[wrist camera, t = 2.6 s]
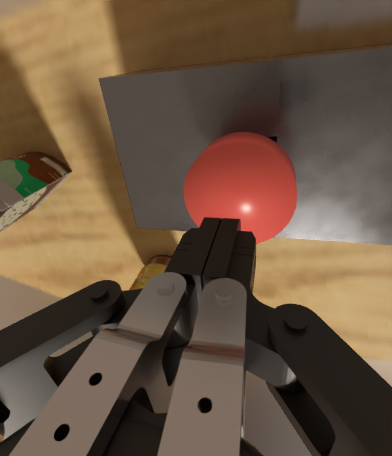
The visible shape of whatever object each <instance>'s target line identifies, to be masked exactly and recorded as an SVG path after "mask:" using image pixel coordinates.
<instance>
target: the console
mask: <svg viewBox="0 0 392 456" xmlns="http://www.w3.org/2000/svg"><path fill="white" fill-rule="evenodd" d="M99 82H100V86H101V90H102V94H103V97H104V101H105V105H106V109H107V113H108V117H109V121H110V125H111V128H112V132H113V136H114V140H115V144H116V148H117V152H118V156H119V160H120V163H121V167H122V171H123V175H124V179H125V183H126V187H127V191H128V194H129V198H130V202H131V206H132V210H133V214H134V218H135V222H136V226H137V228H147V229H162V230H177V231H188V230H190V229H191V228H199V227H198V226H197V224H196V223H195V222H194V221H193V219H192V218H191V216H190V214H189V212H188V210H187V208H186V205H185V200H184V183H185V178H186V176H187V173H188V171H189V169H190V167H191V166H192V165H193V163H194V162H195V161H196V159H197V158H198V157H199V155H200V154H201V153H202V152H203V150H204V149H205V148H206V147H207V146H208V145H209V144H210V143H212V142H213V141H214V140H216V139H218V138H220V137H222V136H224V135H227V134H231V133H237V132H251V133H257V134H260V135H263V136H265V137H274V136H277V144H278V145H280V146H281V147H282V148H283V149H284V150H285V152H286V153H287V154H288V156H289V157H290V159H291V161H292V163H293V165H294V169H295V174H296V184H297V204H296V209H295V212H294V215H293V217H292V218H291V220H290V222H289V223H288V225H287V226H286V227H285V228H284V229H283V230H282V231H281V232H280V233H278V234H277V235H276V236H274V237H280V238H295V239H309V240H324V241H339V242H354V243H368V244H383V245H392V44H383V45H374V46H365V47H356V48H346V49H337V50H328V51H319V52H310V53H300V54H291V55H282V56H273V57H264V58H254V59H245V60H236V61H227V62H217V63H208V64H199V65H190V66H181V67H171V68H162V69H153V70H144V71H136V72H130V73H125V74H120V75H115V76H109V77H104V78H99Z"/></svg>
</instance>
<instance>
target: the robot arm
mask: <svg viewBox="0 0 392 456" xmlns="http://www.w3.org/2000/svg"><path fill="white" fill-rule="evenodd" d="M255 268H256V238H255V236H254V234H253V233H252V231H241V220H240V219H234V218H212V217H204V218H203V221H202V223H201V225H200V227H199V228H191V229H190V230H188V231H187V232H186V233H185V234H183V236H182V238H181V240H180V242H179V244H178V246H177V248H176V251H175V252H174V254H173V256H172V258H171V259H170V261H169V263H168V265H167V267H166V269H165V271H164V273H161V274H158V275H156V276H154V277H152V278H151V279H150V280H149V281H148V282H147V283H146V285H145V286H144V288H141V289H135V290H127V291H122V290H121V287H120V285H119V284H118V283H117V282H115V281H111V280H103V281H99V282H96V283H94V284H91V285H89V286H88V287H86V288H84V289H82V290H80V291H78V292H76V293H74V294H72V295H70V296H68V297H66V298H64V299H62V300H60V301H58V302H56V303H54V304H52V305H50V306H48V307H46V308H44V309H42V310H40V311H38V312H36V313H34V314H32V315H30V316H28V317H26V318H24V319H22V320H20V321H18V322H16V323H14V324H12V325H10V326H8V327H6V328H4V329H2V330H0V456H263V455H262V454H261V453H260V452H259V451H258V450H257V449H256V448H255V447H254V446H253V445H251V444H250V443H249V442H248V441H246V440H245V439H244V421H245V419H244V418H245V384H246V370H247V371H249V372H251V373H252V374H254V375H256V376H258V377H260V378H261V379H263V380H265V381H266V384H267V386H268V388H269V390H270V392H271V393H272V394H273V396H274V398H275V399H276V401H277V402H278V404H279V405H280V407H281V409H282V410H283V412H284V413H285V415H286V416H287V418H288V419H289V421H290V422H291V424H292V426H293V427H294V429H295V430H296V432H297V433H298V435H299V436H300V438H301V439H302V441H303V443H304V444H305V446H306V447H307V449H308V450H309V452H310V453H311V455H312V456H392V387H391V386H390V385H389V384H388V383H387V382H386V381H385V380H384V379H383V378H382V377H381V376H380V375H379V374H378V373H377V372H376V371H375V370H374V369H373V368H372V367H371V366H369V365H368V364H367V363H366V362H365V361H364V360H363V359H362V358H361V357H360V356H359V355H358V354H357V353H356V352H355V351H354V350H353V349H352V348H351V347H350V346H349V345H348V344H347V343H346V342H345V341H344V340H343V339H342V338H340V337H339V336H338V335H337V334H336V333H335V332H334V331H333V330H332V329H331V328H330V327H329V326H328V325H327V324H326V323H325V322H324V321H323V320H322V319H321V318H320V317H319V316H318V315H317V314H315V313H314V312H313V311H312V310H310V309H309V308H306V307H304V306H301V305H297V304H284V305H281V306H278V307H276V308H275V309H274V308H272V307H269V306H267V305H265V304H263V303H261V302H260V301H258V300H257V299H256V298H255V297H254V296H253V294H252V293H253V285H254V277H255ZM89 331H91V333H92V335H93V336H92V337H91V338H89V339H87V340H86V341H84V342H82V343H81V344H79V345H77V346H76V347H74V348H72V349H71V350H69V351H67V352H66V353H64V354H62V355H60V356H58V357H50V356H49V355H51V354H52V353H54V352H55V351H57V350H59V349H61V348H62V347H64V346H66V345H67V344H69V343H71V342H72V341H74V340H76V339H78V338H79V337H81V336H83V335H85V334H86V333H88V332H89Z"/></svg>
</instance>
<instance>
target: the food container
mask: <svg viewBox="0 0 392 456" xmlns="http://www.w3.org/2000/svg"><path fill="white" fill-rule="evenodd" d="M71 172H72V171H71V170H70V169H69V168H68V167H67V166H66V165H65V164H63V163H62V162H60V161H59V160H57V159H56V158H54V157H53V156H50V155H47V154H44V153H41V152H28V153H25V154H22V155H19V156H16V157H12V158H9V159H6V160H3V161H0V232H1V231H2V230H4V229H5V228H7V227H8V226H10V225H11V224H13V223H14V222H15V221H17V220H18V219H20V218H21V217H23V216H24V215H26V214H27V213H29V212H30V211H32V210H33V209H35V208H36V207H37V206H38V205H39V204H40V203H41V202H42V201H43V200H44V199H45V198H46V197H47V196H48V195H49V194H50V193H51V192H52V191H53V190H54V189H55V188H56V187H57V186H58V185H59V184H60V183H61V182H62V181H63V180H64V179H65V178H66V177H67V176H68V175H69V174H70V173H71Z"/></svg>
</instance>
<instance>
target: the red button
mask: <svg viewBox="0 0 392 456" xmlns="http://www.w3.org/2000/svg"><path fill="white" fill-rule="evenodd" d="M184 200H185V205H186V208H187V210H188V212H189V214H190V216H191V218H192V219H193V221H194V222H195V223H196V224H197V226H198V227H200V225H201V223H202V221H203V218H204V217H212V218H234V219H240V220H241V231H252V233H253V234H254V236H255V238H256V244H257V243H261V242H264V241H266V240H269V239H271V238H272V237H274V236H276V235H277V234H278V233H280V232H281V231H282V230H283V229H284V228H285V227H286V226H287V225H288V223H289V222H290V220H291V218H292V217H293V215H294V212H295V209H296V204H297V184H296V174H295V169H294V165H293V163H292V161H291V159H290V157H289V156H288V154H287V153H286V152H285V150H284V149H283V148H282V147H281V146H280V145H278V144H277V143H276V142H274V141H273V140H271V139H270V138H268V137H265V136H263V135H260V134H257V133H251V132H237V133H231V134H227V135H224V136H222V137H220V138H218V139H216V140H214V141H213V142H212V143H210V144H209V145H208V146H207V147H206V148H205V149H204V150H203V152H202V153H201V154H200V155H199V157H198V158H197V159H196V161H195V162H194V163H193V165H192V166H191V167H190V169H189V171H188V173H187V176H186V178H185V183H184Z"/></svg>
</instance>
